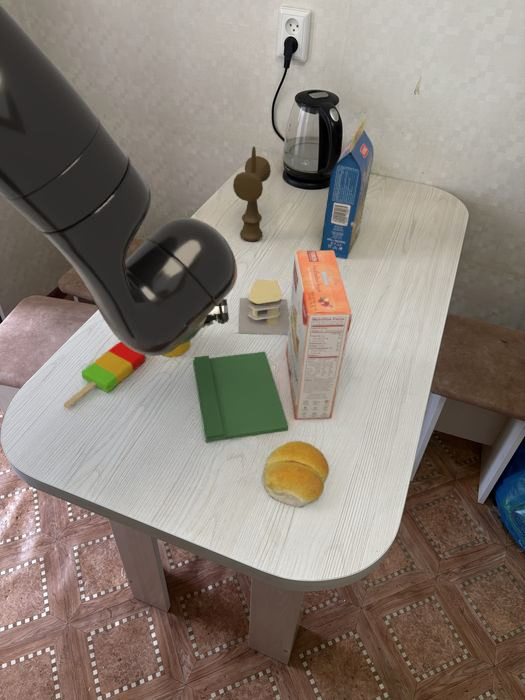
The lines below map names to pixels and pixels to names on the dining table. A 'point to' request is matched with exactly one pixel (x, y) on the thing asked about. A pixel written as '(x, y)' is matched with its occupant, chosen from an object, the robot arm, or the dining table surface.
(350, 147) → the blue food package
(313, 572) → the dining table surface
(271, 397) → the green notebook
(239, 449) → the dining table surface
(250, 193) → the kendama
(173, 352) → the yellow cylinder with peg
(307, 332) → the cracker box
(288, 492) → the bread roll
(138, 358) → the popsicle
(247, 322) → the stacked layers on plate
